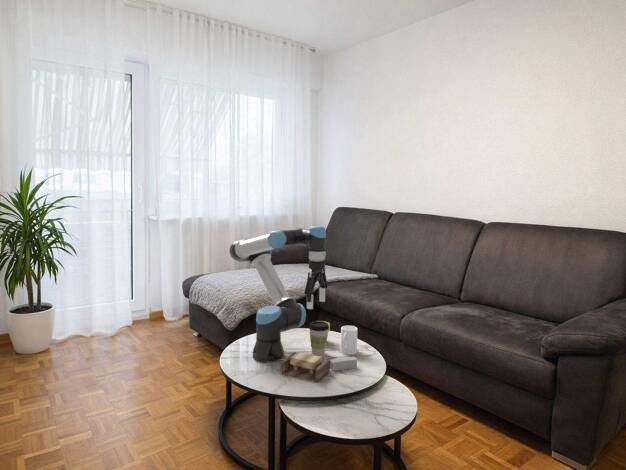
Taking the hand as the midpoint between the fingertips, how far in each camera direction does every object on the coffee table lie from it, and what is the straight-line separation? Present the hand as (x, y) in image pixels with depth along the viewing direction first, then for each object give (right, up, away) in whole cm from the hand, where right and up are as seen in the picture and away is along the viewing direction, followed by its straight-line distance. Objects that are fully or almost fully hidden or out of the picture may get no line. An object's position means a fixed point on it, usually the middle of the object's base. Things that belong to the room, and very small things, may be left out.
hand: (316, 305), depth 197 cm
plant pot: (+2, -24, +27) cm, 36 cm away
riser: (+12, -28, -5) cm, 31 cm away
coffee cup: (+1, -26, +11) cm, 28 cm away
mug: (+15, -26, +13) cm, 33 cm away
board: (-5, -24, -11) cm, 27 cm away
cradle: (-5, -28, -10) cm, 30 cm away
